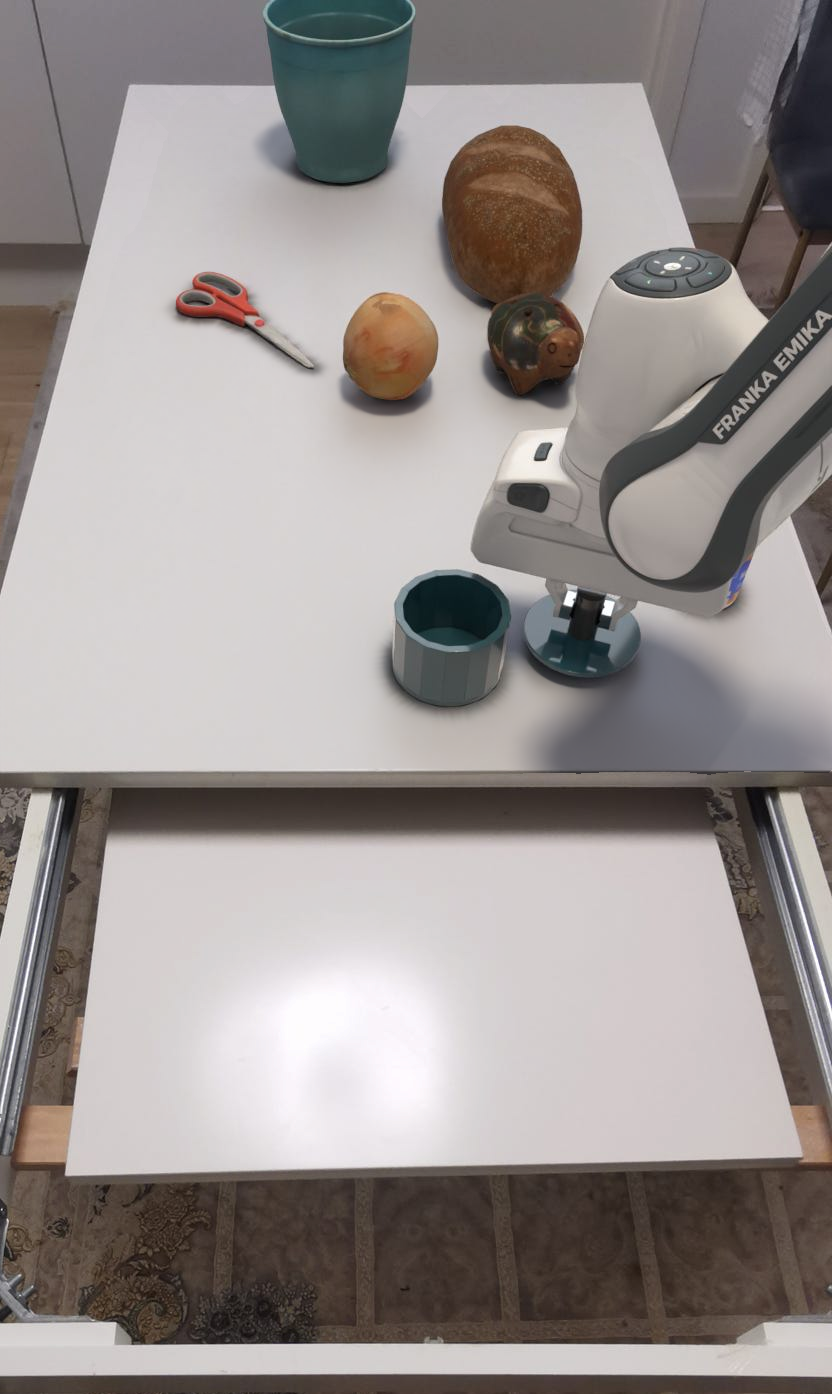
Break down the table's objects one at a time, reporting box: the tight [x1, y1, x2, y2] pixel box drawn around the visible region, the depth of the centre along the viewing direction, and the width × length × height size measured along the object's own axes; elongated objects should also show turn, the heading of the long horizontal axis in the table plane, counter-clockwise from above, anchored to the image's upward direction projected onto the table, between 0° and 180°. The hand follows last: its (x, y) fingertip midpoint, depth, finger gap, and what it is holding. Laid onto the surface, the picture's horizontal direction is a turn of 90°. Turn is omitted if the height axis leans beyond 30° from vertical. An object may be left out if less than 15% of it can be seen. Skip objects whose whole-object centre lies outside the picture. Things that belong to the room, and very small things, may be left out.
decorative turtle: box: [486, 293, 585, 396], centre depth 111 cm, size 10×15×8 cm, turn 28°
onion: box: [342, 291, 439, 401], centre depth 108 cm, size 10×10×10 cm
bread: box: [441, 125, 583, 305], centre depth 123 cm, size 16×29×11 cm, turn 1°
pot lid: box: [522, 586, 642, 678], centre depth 88 cm, size 10×10×6 cm
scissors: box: [175, 271, 315, 369], centre depth 118 cm, size 8×21×2 cm, turn 54°
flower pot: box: [262, 0, 416, 184], centre depth 133 cm, size 18×18×17 cm
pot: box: [391, 569, 512, 707], centre depth 87 cm, size 9×9×6 cm
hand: (584, 618), depth 89 cm, fingers closed on pot lid, 2 cm apart
